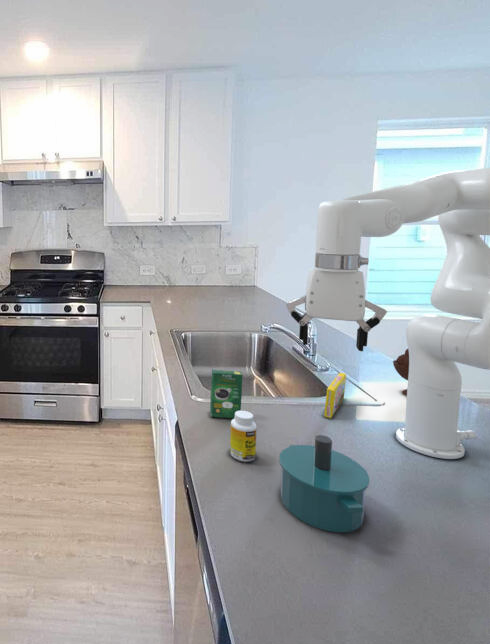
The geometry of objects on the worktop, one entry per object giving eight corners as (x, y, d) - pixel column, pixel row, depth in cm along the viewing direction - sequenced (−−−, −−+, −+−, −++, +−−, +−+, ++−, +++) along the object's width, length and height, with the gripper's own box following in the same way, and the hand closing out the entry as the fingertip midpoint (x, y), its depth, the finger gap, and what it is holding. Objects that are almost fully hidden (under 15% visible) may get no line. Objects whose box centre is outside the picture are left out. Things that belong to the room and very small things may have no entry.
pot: (324, 473, 88) (326, 440, 87) (393, 543, 69) (396, 502, 68) (262, 475, 87) (263, 443, 86) (314, 546, 68) (316, 505, 68)
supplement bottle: (245, 465, 91) (247, 422, 90) (225, 454, 96) (225, 412, 94) (260, 457, 94) (262, 415, 93) (239, 446, 99) (240, 406, 97)
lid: (335, 449, 85) (337, 418, 84) (389, 496, 70) (392, 460, 69) (265, 451, 84) (266, 420, 84) (305, 499, 70) (307, 463, 69)
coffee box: (239, 414, 114) (240, 370, 113) (241, 419, 112) (242, 373, 110) (210, 413, 116) (210, 368, 114) (211, 417, 113) (211, 372, 112)
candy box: (332, 419, 111) (334, 390, 110) (323, 417, 112) (325, 388, 111) (345, 399, 123) (346, 373, 122) (336, 397, 124) (338, 371, 123)
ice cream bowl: (383, 386, 131) (386, 341, 129) (421, 388, 129) (425, 342, 128) (404, 401, 120) (408, 352, 119) (446, 403, 119) (450, 353, 117)
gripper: (385, 262, 81) (378, 346, 83) (287, 259, 88) (284, 336, 90) (394, 266, 74) (387, 357, 76) (288, 263, 81) (284, 346, 83)
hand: (331, 346), depth 83 cm, fingers open, 9 cm apart
